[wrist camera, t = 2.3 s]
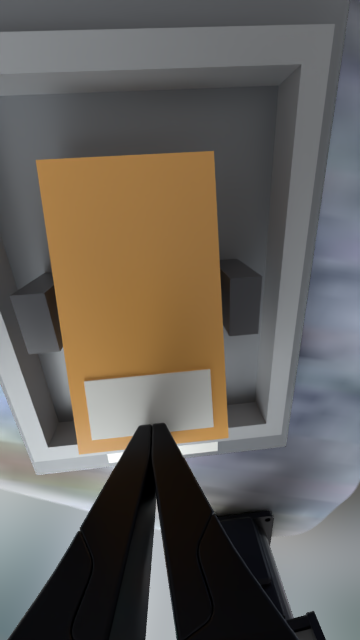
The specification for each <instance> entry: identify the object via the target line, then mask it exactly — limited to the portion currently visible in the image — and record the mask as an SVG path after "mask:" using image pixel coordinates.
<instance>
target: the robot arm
mask: <svg viewBox="0 0 360 640" xmlns="http://www.w3.org/2000/svg"><path fill="white" fill-rule="evenodd" d="M156 499H157V506H158V513H159V520H160V527H161V533H162V540H163V548H164V555H165V562H166V568H167V576H168V583H169V589H170V597H171V603H172V610H173V617H174V624H175V631H176V638H177V640H326V639H325V637H324V635H323V632H322V630H321V627H320V625H319V622H318V620H317V617H316V615H315V613H314V611H312V612H308V613H306V615H304V616H301V617H297V618H294V617H293V614H292V611H291V608H290V605H289V602H288V599H287V596H286V593H285V590H284V587H283V584H282V581H281V578H280V575H279V572H278V569H277V566H276V563H275V560H274V557H273V554H272V551H271V548H270V542H271V535H272V528H273V520H274V518H273V515H272V513H271V512H270V511H263V512H255V513H248V514H240V515H232V516H224V517H217V516H216V515H215V514H214V511H213V509H212V507H211V506H210V504H209V502H208V500H207V498H206V497H205V495H204V493H203V491H202V489H201V487H200V486H199V484H198V482H197V480H196V478H195V477H194V475H193V473H192V471H191V469H190V467H189V466H188V464H187V462H186V460H185V458H184V457H183V455H182V453H181V451H180V449H179V447H178V446H177V444H176V442H175V440H174V438H173V437H172V435H171V433H170V431H169V429H168V427H167V426H166V424H165V423H155V424H153V425H151V424H146V425H140V426H138V428H137V430H136V431H135V433H134V435H133V437H132V438H131V440H130V442H129V443H128V445H127V447H126V449H125V450H124V452H123V454H122V456H121V457H120V459H119V461H118V463H117V464H116V466H115V468H114V470H113V471H112V473H111V475H110V477H109V478H108V480H107V482H106V483H105V485H104V487H103V489H102V490H101V492H100V494H99V496H98V497H97V499H96V501H95V503H94V504H93V506H92V508H91V510H90V511H89V513H88V515H87V517H86V518H85V520H84V522H83V523H82V525H81V527H80V531H78V532H77V534H76V535H75V537H74V539H73V541H72V542H71V544H70V546H69V548H68V549H67V551H66V553H65V554H64V556H63V557H62V559H61V561H60V562H59V564H58V566H57V567H56V569H55V571H54V572H53V574H52V575H51V577H50V578H49V580H48V581H47V583H46V584H45V586H44V587H43V589H42V590H41V592H40V593H39V595H38V596H37V598H36V599H35V601H34V602H33V604H32V605H31V607H30V608H29V609H28V611H27V612H26V614H25V615H24V617H23V618H22V619H21V621H20V622H19V624H18V625H17V627H16V628H15V630H14V631H13V633H12V634H11V635H10V637H9V638H8V640H145V636H146V625H147V624H146V623H147V611H148V599H149V586H150V574H151V561H152V547H153V536H154V523H155V510H156Z"/></svg>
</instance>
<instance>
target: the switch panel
mask: <svg viewBox="0 0 360 640" xmlns="http://www.w3.org/2000/svg"><path fill="white" fill-rule="evenodd" d="M349 4H350V0H0V384H1V387H2V389H3V392H4V394H5V397H6V399H7V402H8V404H9V407H10V409H11V412H12V414H13V417H14V419H15V422H16V424H17V427H18V429H19V432H20V435H21V437H22V440H23V442H24V445H25V447H26V450H27V452H28V455H29V457H30V460H31V462H32V465H33V467H34V470H35V472H36V475H42V474H51V473H59V472H68V471H77V470H86V469H94V468H103V467H112V466H116V464H117V463H118V461H119V459H120V457H121V456H122V454H123V452H124V450H117V451H108V452H99V453H90V454H81V455H79V451H78V445H77V438H76V431H75V424H74V417H73V411H72V404H71V397H70V390H69V383H68V377H67V370H66V363H65V356H64V349H63V343H62V336H61V329H60V322H59V315H58V309H57V302H56V295H55V288H54V281H53V275H52V268H51V261H50V254H49V247H48V241H47V234H46V227H45V220H44V213H43V207H42V200H41V193H40V186H39V179H38V173H37V166H36V160H44V159H64V158H83V157H103V156H123V155H143V154H163V153H183V152H202V151H214V162H215V181H216V201H217V220H218V240H219V259H220V279H221V298H222V317H223V337H224V356H225V376H226V395H227V415H228V434H229V438H225V439H216V440H207V441H198V442H189V443H180V444H177V446H178V447H179V449H180V451H181V453H182V455H183V457H184V458H191V457H199V456H208V455H217V454H226V453H234V452H243V451H252V450H261V449H269V448H278V447H286V443H287V436H288V429H289V422H290V415H291V408H292V401H293V394H294V387H295V380H296V373H297V366H298V359H299V352H300V345H301V338H302V331H303V324H304V317H305V310H306V303H307V296H308V289H309V283H310V276H311V269H312V262H313V255H314V248H315V241H316V234H317V227H318V220H319V213H320V206H321V199H322V192H323V185H324V178H325V171H326V164H327V157H328V150H329V143H330V136H331V129H332V123H333V116H334V109H335V102H336V95H337V88H338V81H339V74H340V67H341V60H342V53H343V46H344V39H345V32H346V25H347V18H348V11H349Z"/></svg>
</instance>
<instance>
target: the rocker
mask: <svg viewBox="0 0 360 640" xmlns="http://www.w3.org/2000/svg"><path fill="white" fill-rule="evenodd" d="M36 166H37V173H38V179H39V186H40V193H41V200H42V207H43V213H44V220H45V227H46V234H47V241H48V247H49V254H50V261H51V268H52V275H53V281H54V288H55V295H56V302H57V309H58V315H59V322H60V329H61V336H62V343H63V349H64V356H65V363H66V370H67V377H68V383H69V390H70V397H71V404H72V411H73V417H74V424H75V431H76V438H77V445H78V451H79V455H81V454H90V453H99V452H108V451H117V450H125V449H126V447H127V445H128V443H129V442H130V440H131V438H132V437H133V435H134V433H135V431H136V430H137V428H138V426H140V425H146V424H151V425H153V424H155V423H165V424H166V426H167V427H168V429H169V431H170V433H171V435H172V437H173V438H174V440H175V442H176V444H180V443H189V442H198V441H207V440H216V439H225V438H229V434H228V415H227V395H226V376H225V356H224V337H223V317H222V298H221V279H220V259H219V240H218V220H217V201H216V181H215V162H214V151H202V152H183V153H163V154H143V155H123V156H103V157H83V158H64V159H44V160H36Z"/></svg>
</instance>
